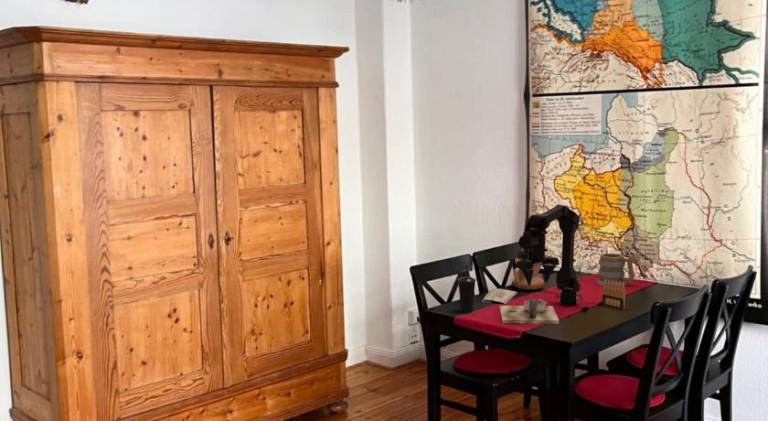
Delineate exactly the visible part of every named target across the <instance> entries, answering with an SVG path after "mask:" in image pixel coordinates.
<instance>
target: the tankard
mask: <svg viewBox="0 0 768 421" xmlns="http://www.w3.org/2000/svg"><path fill="white" fill-rule="evenodd" d="M599 256H600V257H599V258H600V259H598V265H599V269H598V275H599V278H597V279H596V283H597V285H599V286H601V287H602V286H603V287H604V280H605V278H606V281H607V284H608V280H610V288H611V282H612V280H613V281H614V287H615V281H617V285H618V284H619V281H620V282H621V287H622V283H623V282H624V285H625V286H626V285H627V284H628V283H629V284H630V283H632V282H633V281H634V279H635V274H636V273H635V271H634V267H633V262H634V261H635V263H639V261H640V258H639V257H637V256H635V255H633V256H632V257H628V258H626V257H625V256H624V255H623V254H620V253H613V252H612V253H602V254H600V255H599ZM626 263H627V269H628V270H627V271H628V273H629V274H628V278H627V277H626V276H625V275H626V272H625V270H624V267H625V266H626Z"/></svg>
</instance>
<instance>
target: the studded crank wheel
mask: <svg viewBox="0 0 768 421" xmlns="http://www.w3.org/2000/svg"><path fill="white" fill-rule="evenodd" d="M523 306H524V311H526V312H529V317H531V318H535V317H537V313H543V312H546V306H547V301H544V300H543V299H540V298H539V299H537V298H529V299H528V300H524V301H523Z"/></svg>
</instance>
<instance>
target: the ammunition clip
mask: <svg viewBox="0 0 768 421" xmlns="http://www.w3.org/2000/svg"><path fill="white" fill-rule="evenodd" d="M625 286H626V285H624V282H623V283H622V286H621V282H620V281H619V284H618V285H617V281H615V287H614V281H613V280H612V282H611V287H610V280H608V284H607V281H606V278H605V280H604V286H603V288H602V296H601V297H602V298H601V306H602V307H605V308H610V309H614V310H619V311H626V309H627V306H626V303H627V302H626V301H627V300H626V299H627V298H626V289H625V288H626V287H625Z"/></svg>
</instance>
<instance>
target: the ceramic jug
mask: <svg viewBox="0 0 768 421" xmlns="http://www.w3.org/2000/svg"><path fill="white" fill-rule="evenodd" d="M514 260H515V264H516V263H517V262H518V261H522V260H521V259H518V257H516V258H515V259H514ZM526 261H527V260H526ZM530 262H531V261H530ZM539 263H541V262H539ZM541 267H543V266H542V265H536V266H533V268H532V270H533V276H532V281H531V285H528V284H527V281H526V278H525V275H524V273H523V272H522V271H521V270H519V268H516V267H515V268H514V271H513V276H514V278H513V280H512V285H513V286H514V287H515V288H517V289H519V290H523V291H537V290H540V289H542V288H543V287H544V285H545V282H544V278H542V277H541V276H539V272H540V269H541Z"/></svg>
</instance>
